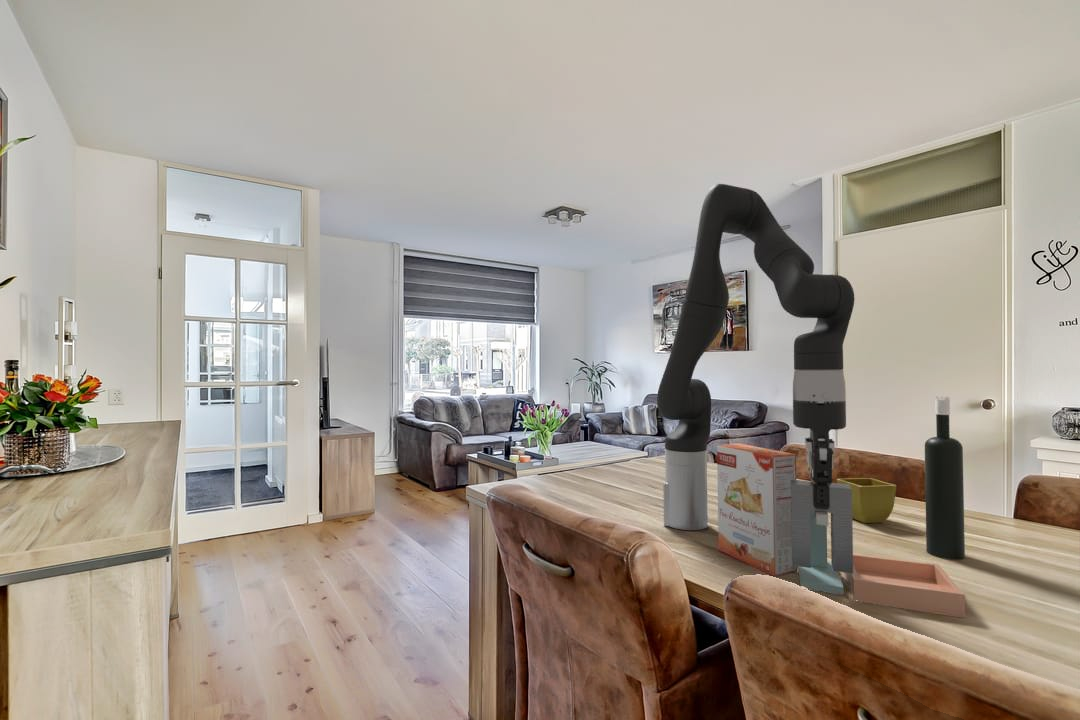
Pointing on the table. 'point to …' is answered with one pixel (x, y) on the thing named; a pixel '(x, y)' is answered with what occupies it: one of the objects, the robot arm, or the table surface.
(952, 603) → the tray
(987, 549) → the table surface
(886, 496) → the flower pot
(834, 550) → the grey arch block
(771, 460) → the cracker box
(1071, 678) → the table surface
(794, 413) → the robot arm
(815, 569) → the peg stand
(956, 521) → the wine bottle
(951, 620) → the table surface
